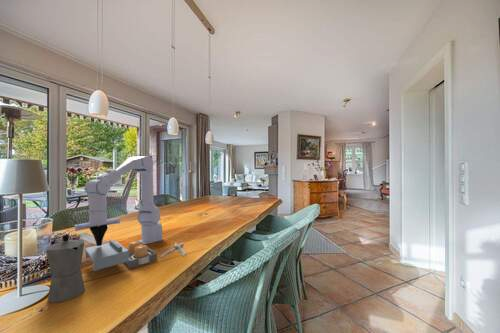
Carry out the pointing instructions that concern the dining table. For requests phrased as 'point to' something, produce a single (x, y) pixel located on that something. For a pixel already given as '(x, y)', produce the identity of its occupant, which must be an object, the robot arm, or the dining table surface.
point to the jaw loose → (133, 246)
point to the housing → (141, 259)
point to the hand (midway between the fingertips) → (99, 245)
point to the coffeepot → (65, 269)
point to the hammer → (174, 249)
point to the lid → (107, 255)
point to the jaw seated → (140, 251)
